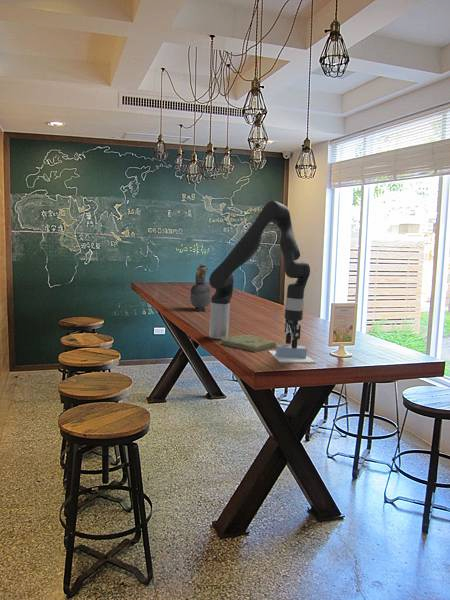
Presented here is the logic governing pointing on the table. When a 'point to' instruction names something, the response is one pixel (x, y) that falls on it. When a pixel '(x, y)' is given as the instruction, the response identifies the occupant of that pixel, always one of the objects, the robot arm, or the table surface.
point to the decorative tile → (248, 343)
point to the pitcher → (200, 290)
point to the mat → (291, 359)
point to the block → (291, 351)
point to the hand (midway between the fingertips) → (290, 345)
